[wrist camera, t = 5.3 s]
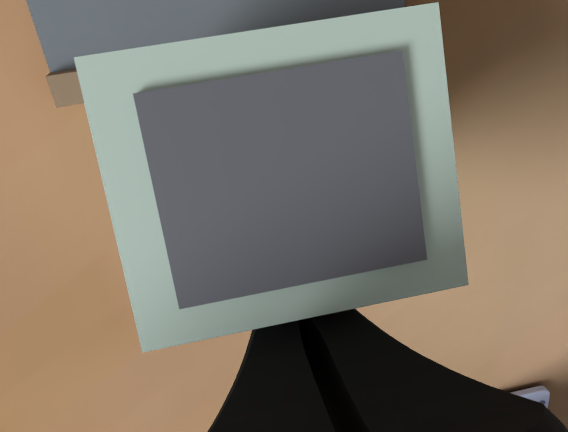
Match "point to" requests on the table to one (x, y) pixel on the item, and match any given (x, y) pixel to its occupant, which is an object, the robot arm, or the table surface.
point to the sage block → (278, 172)
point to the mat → (161, 26)
